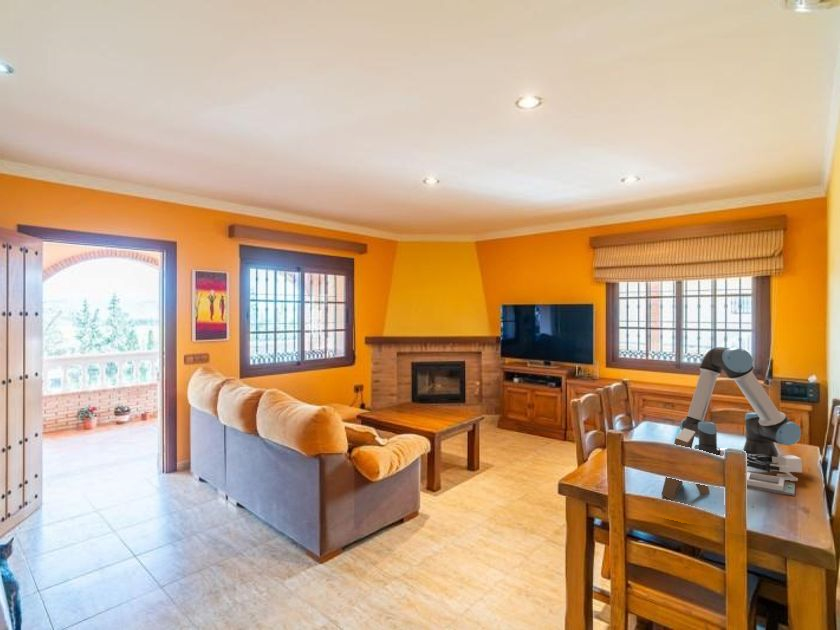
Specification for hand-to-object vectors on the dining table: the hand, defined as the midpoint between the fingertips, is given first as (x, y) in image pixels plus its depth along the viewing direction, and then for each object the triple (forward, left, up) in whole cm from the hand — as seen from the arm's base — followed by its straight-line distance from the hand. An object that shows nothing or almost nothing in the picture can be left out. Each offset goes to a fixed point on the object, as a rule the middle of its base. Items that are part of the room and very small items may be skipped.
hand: (790, 465), depth 195 cm
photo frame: (+46, -32, -6) cm, 57 cm away
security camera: (-1, 0, -6) cm, 6 cm away
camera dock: (+16, -8, -6) cm, 20 cm away
